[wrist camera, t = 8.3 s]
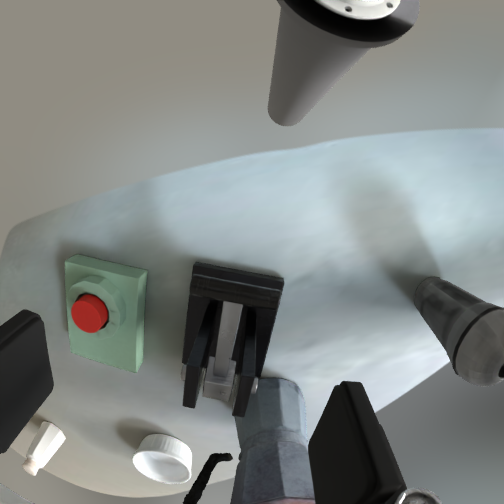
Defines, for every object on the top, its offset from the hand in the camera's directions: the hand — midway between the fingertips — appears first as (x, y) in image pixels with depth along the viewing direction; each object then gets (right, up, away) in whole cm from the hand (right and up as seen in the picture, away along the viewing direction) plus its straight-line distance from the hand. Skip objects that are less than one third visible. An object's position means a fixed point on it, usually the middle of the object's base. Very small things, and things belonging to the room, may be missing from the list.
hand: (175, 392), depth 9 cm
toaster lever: (+1, -2, +13) cm, 13 cm away
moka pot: (+4, -15, +28) cm, 32 cm away
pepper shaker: (-34, -28, +33) cm, 55 cm away
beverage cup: (+23, -1, +24) cm, 33 cm away
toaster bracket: (0, -3, +25) cm, 25 cm away
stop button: (-14, -2, +20) cm, 25 cm away
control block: (-14, -3, +25) cm, 29 cm away
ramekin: (-11, -26, +32) cm, 42 cm away
